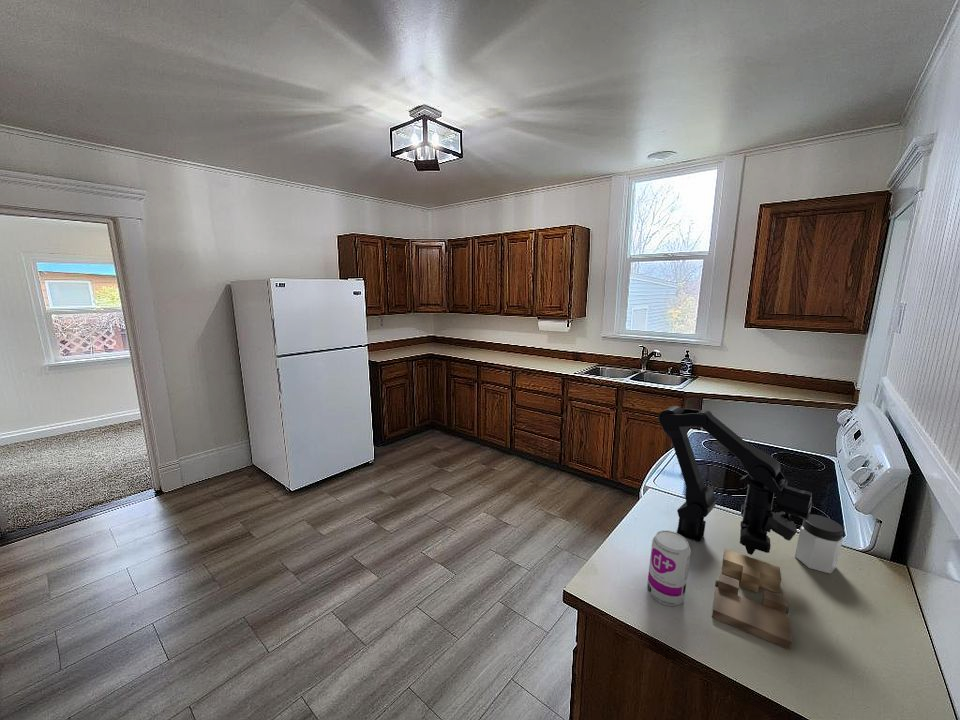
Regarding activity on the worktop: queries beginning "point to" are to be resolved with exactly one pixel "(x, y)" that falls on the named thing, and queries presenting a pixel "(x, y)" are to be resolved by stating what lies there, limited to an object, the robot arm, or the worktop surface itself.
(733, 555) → the tan block
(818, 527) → the jar
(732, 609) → the fixed leaf
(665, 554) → the supplement can
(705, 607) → the worktop surface
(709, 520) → the worktop surface
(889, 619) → the worktop surface
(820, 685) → the worktop surface
